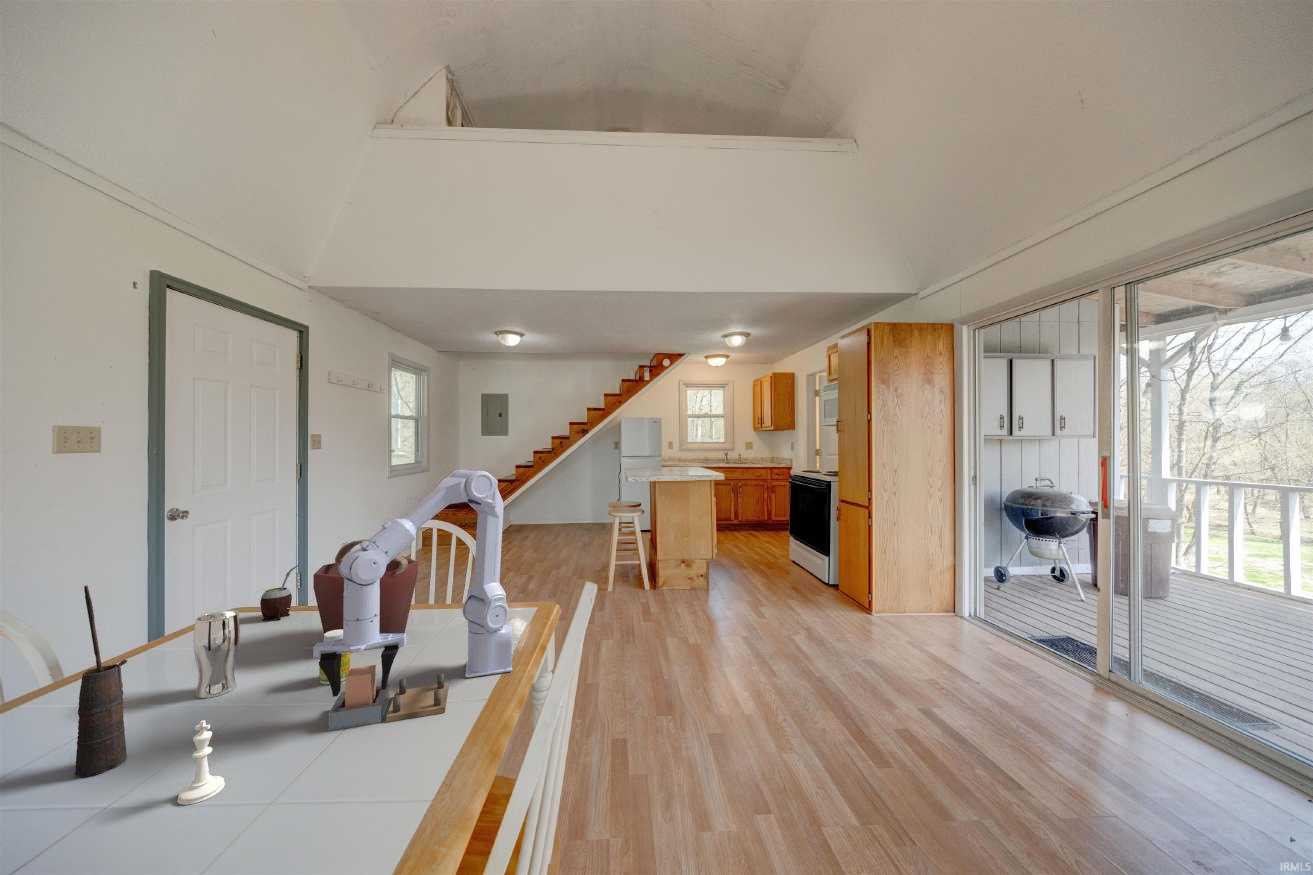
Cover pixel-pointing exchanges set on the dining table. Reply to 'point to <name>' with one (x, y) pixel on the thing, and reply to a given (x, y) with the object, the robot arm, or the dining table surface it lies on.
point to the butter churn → (100, 713)
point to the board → (418, 701)
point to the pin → (360, 686)
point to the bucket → (392, 593)
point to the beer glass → (216, 652)
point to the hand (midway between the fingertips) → (360, 690)
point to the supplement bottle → (344, 659)
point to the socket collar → (358, 711)
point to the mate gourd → (276, 602)
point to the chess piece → (201, 771)
